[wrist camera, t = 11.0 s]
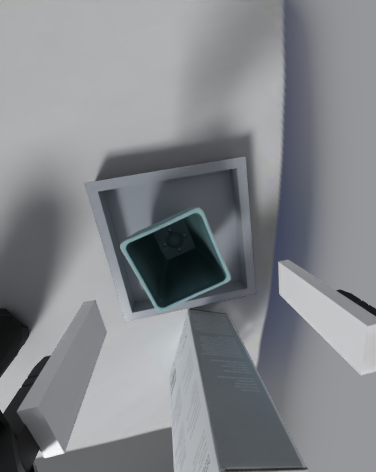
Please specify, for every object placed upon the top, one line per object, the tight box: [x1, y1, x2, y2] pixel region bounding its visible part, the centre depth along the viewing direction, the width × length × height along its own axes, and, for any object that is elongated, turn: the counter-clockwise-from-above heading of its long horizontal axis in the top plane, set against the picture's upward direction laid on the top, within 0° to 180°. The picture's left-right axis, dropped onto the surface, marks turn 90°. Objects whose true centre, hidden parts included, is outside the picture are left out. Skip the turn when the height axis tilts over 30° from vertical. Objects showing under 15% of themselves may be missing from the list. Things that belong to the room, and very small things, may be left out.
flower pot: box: [120, 207, 231, 312], centre depth 25 cm, size 9×9×9 cm
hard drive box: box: [170, 310, 308, 472], centre depth 26 cm, size 16×8×20 cm, turn 167°
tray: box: [84, 156, 256, 322], centre depth 28 cm, size 19×19×4 cm
